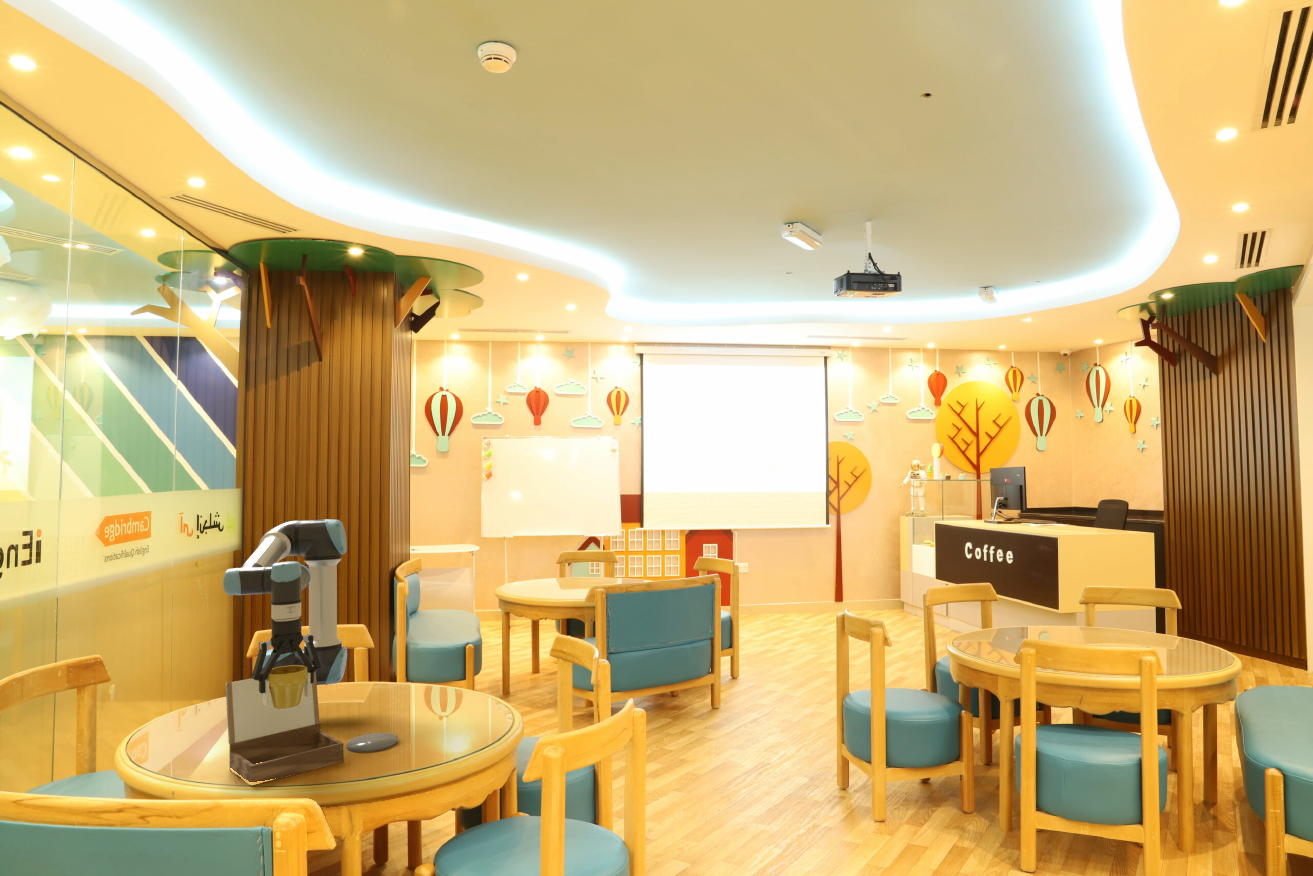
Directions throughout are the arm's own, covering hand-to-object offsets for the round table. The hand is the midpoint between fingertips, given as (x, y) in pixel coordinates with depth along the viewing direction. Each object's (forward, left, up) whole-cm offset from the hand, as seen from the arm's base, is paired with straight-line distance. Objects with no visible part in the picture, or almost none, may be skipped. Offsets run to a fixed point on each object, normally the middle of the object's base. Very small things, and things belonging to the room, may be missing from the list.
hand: (287, 700), depth 222 cm
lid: (-10, 0, -11) cm, 15 cm away
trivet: (+1, +24, -18) cm, 30 cm away
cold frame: (0, 0, -18) cm, 18 cm away
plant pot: (0, 0, -2) cm, 2 cm away
